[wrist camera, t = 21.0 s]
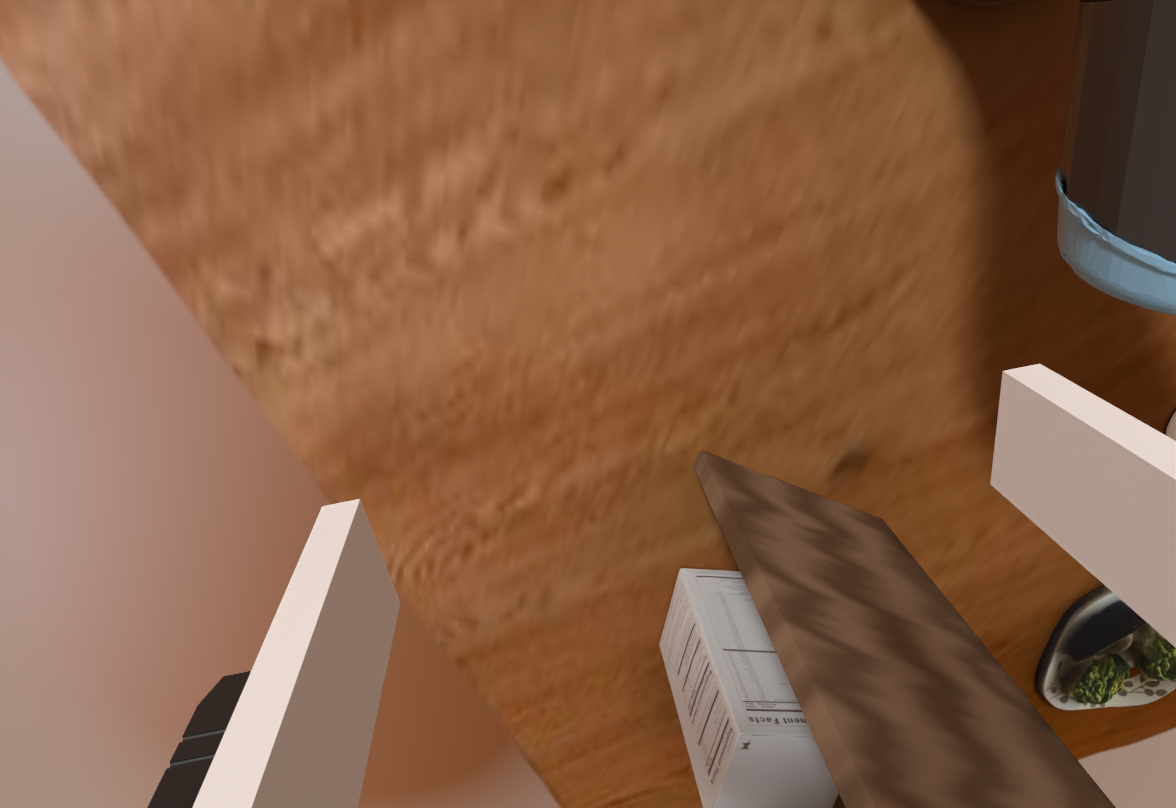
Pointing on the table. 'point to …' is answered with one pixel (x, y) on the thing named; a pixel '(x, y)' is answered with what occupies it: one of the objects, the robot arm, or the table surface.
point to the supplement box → (737, 700)
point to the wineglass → (1172, 427)
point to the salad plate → (1104, 657)
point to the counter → (885, 659)
